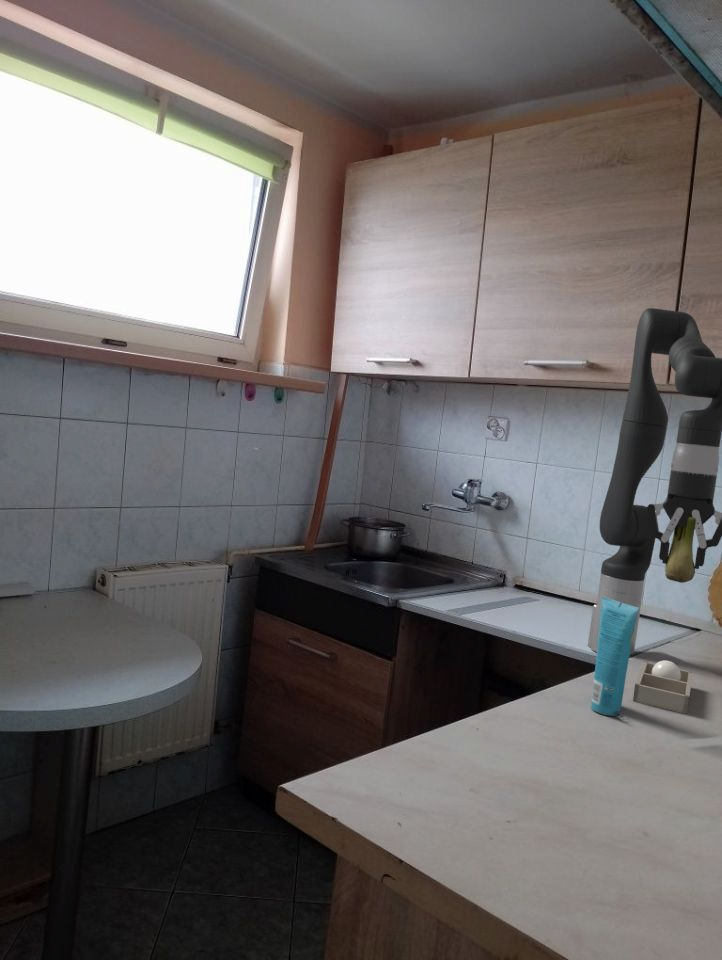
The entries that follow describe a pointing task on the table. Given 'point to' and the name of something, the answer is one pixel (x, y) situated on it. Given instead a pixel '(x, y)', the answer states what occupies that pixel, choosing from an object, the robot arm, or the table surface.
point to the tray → (663, 690)
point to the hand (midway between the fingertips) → (680, 565)
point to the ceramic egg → (666, 670)
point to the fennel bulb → (681, 554)
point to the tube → (612, 655)
